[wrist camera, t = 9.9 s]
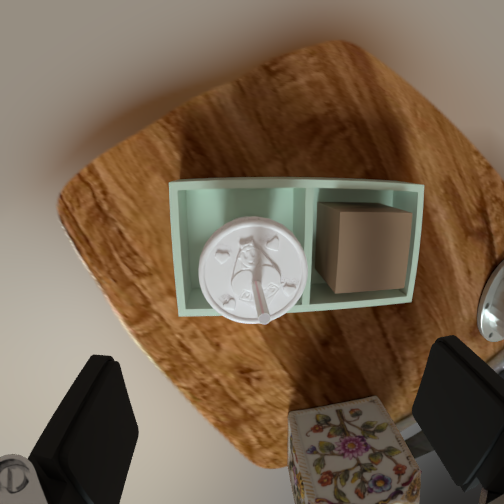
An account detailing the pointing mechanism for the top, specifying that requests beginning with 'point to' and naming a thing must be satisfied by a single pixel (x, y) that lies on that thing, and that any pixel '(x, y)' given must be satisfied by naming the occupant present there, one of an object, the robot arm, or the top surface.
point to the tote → (292, 217)
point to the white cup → (252, 270)
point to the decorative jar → (350, 456)
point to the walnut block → (362, 246)
